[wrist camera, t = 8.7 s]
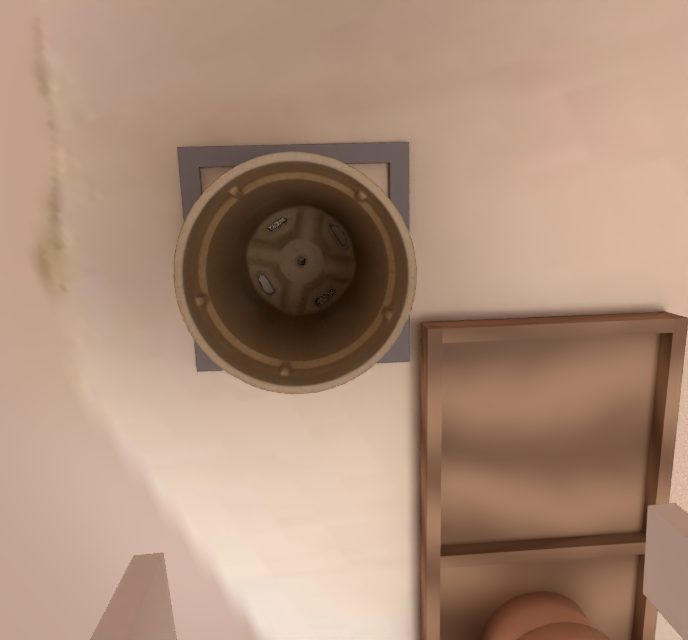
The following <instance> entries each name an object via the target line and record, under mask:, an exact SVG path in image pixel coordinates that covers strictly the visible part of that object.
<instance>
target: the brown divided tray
mask: <svg viewBox="0 0 688 640" xmlns="http://www.w3.org/2000/svg"><path fill="white" fill-rule="evenodd" d="M687 326H688V318H687V317H683V316H679V315H676V314H672V313H668V312H655V313H632V314H608V315H585V316H561V317H538V318H514V319H491V320H467V321H444V322H421V640H481V636H482V632H483V630H484V627H485V625H486V623H487V621H488V620H489V618H490V617H491V616H492V614H493V613H494V612H495V611H496V610H497V609H498V608H499V607H501V606H502V605H503V604H504V603H506V602H507V601H509V600H511V599H513V598H515V597H517V596H520V595H522V594H526V593H530V592H537V591H547V592H554V593H558V594H561V595H564V596H566V597H568V598H570V599H571V600H573V601H574V602H575V603H576V604H577V605H578V606H579V607H580V608H581V609H582V611H583V612H584V614H585V615H586V616H587V618H588V619H589V621H590V622H591V624H592V625H593V627H594V628H595V629H597V630H599V631H601V632H602V633H603V634H605V635H606V636H607V637H608V638H609V639H610V640H654V639H655V630H656V620H657V611H658V610H657V609H656V608H655V606H654V605H653V604H652V603H651V602H650V601H649V600H648V598H647V597H646V596H645V595H644V594H643V580H644V563H645V546H646V529H647V512H648V506H649V505H659V504H669V497H670V487H671V478H672V468H673V459H674V449H675V440H676V430H677V421H678V411H679V402H680V392H681V383H682V373H683V364H684V354H685V345H686V335H687Z"/></svg>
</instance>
